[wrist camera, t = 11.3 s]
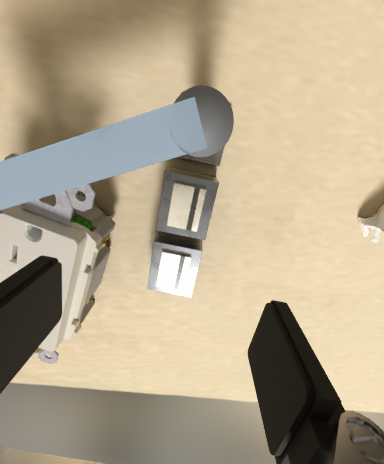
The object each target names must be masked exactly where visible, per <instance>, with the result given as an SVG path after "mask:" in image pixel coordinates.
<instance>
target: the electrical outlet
mask: <svg viewBox="0 0 384 464" xmlns="http://www.w3.org/2000/svg"><path fill="white" fill-rule="evenodd" d="M16 156H19V155H17V154H11V155H9V156H7V157H5V160H7V159H10V158H13V157H16ZM78 191H81V192H83V193H84V194H85V195H86V196H83V195H78V194H77V192H78ZM95 194H96V193H95V191H94V189H93V188H92V186H91V184H86V185H83V186H79V187H76V188H73V189H69V190H66V191H63V192H59V193H56V194H53V195H49V196H46V197H43V198H40V199H36V200H33V201H30V202H26V203H23V204H20V205H16V206H13V207H10V208H6V209H3V210H2V211H3V212H4V213H2V214H0V282H2V281H3V280H5V279H6V278H8V277H9V276H11V275H12V274H14V273H15V272H17V271H18V270H20V269H21V268H23V267H24V266H26V265H27V264H29V263H30V262H32V261H33V260H35V259H36V258H38V257H39V256H48V257H54V258H57V259H58V262H60V263H61V264H62V316H61V319H60V321H59V322H58V324H57V325H56V326H55V327H54V329H53V330H52V331H51V332H50V333H49V335H48V336H47V337H46V338H45V340H44V341H43V342H42V343H41V344H40V346H39V347H38V348H37V349H36V351H35V352H34V353H33V354H32V356H33V355H35V353H39V354H38V358H39V359H40V360H41V361H43V362H46V363H50V364H53V363H56V362H57V360H58V355H59V354H58V353H57V352H56V351H55V350H56V348H57V347H58V345H59V344H60V343H61V341H62V340H67V339H70V338H72V337H73V335H74V334H77V333H78V331H79V329H80V328H81V323H82V322H83V320H84V318H85V317H86V315H87V314H88V312H89V311H90V309H91V308H92V306H93V305H94V303H95V302H94V301H93V300H92V296H93V293H94V292H95V290H96V289H97V288H98V286H99V285H100V283H101V280H102V277H103V273H104V270H105V267H106V263H107V260H108V256H109V253H110V249H109V248H108V247H107V246H106V244H107V240H108V239H109V233H110V232H111V231H112V230H113V229H114V226H115V222H114V221H112V220H111V218H112V217H113V215H111V216H110V217H109V216H106V215H104V212H102V211H101V210H100V209H99V208H98V207H97V205H96V204H95V203H94V198H95ZM46 354H49V355H51V356H52V357H48V356H46Z"/></svg>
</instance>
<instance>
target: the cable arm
mask: <svg viewBox="0 0 384 464" xmlns="http://www.w3.org/2000/svg"><path fill="white" fill-rule="evenodd" d="M233 123H234V122H233V112H232V108H231V106H230V104H229V102H228V100H227V99H226V97H225V96H224V95H223V94H222V93H221V92H219V91H218V90H216V89H214V88H212V87H208V86H196V87H192V88H190V89H188V90H186V91H184V92H183V93H182V94H181V95H180V96H179V97H178V98H177V99H176V101H175V102H174V104H171V105H168V106H165V107H162V108H159V109H156V110H153V111H150V112H147V113H144V114H141V115H138V116H135V117H132V118H129V119H126V120H123V121H120V122H117V123H114V124H111V125H108V126H105V127H102V128H99V129H96V130H93V131H90V132H87V133H84V134H81V135H78V136H75V137H72V138H69V139H66V140H63V141H60V142H57V143H54V144H51V145H48V146H45V147H42V148H39V149H36V150H34V151H31V152H28V153H25V154H22V155H19V156H16V157H13V158H10V159H7V160H4V161H1V162H0V214H2V213H4V212H3V211H2V210H3V209H6V208H10V207H13V206H16V205H20V204H23V203H26V202H30V201H33V200H36V199H40V198H43V197H46V196H49V195H53V194H56V193H59V192H63V191H66V190H69V189H73V188H76V187H79V186H83V185H86V184H89V183H93V182H96V181H99V180H103V179H106V178H109V177H113V176H116V175H119V174H123V173H126V172H129V171H133V170H136V169H139V168H143V167H146V166H149V165H153V164H156V163H159V162H163V161H166V160H169V159H173V158H176V157H179V156H182V155H186V154H189V155H191V156H195V157H207V156H210V155H213V154H215V153H217V152H218V151H220V150H221V149H222V148H223V147H224V146H225V145H226V143H227V142H228V140H229V138H230V136H231V133H232V130H233Z"/></svg>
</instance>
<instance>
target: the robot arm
mask: <svg viewBox="0 0 384 464" xmlns="http://www.w3.org/2000/svg"><path fill="white" fill-rule="evenodd" d="M61 316H62V264H61V263H60V262H58V259H57V258H54V257H48V256H39V257H38V258H36V259H35V260H33V261H32V262H30V263H29V264H27V265H26V266H24V267H23V268H21V269H20V270H18V271H17V272H15V273H14V274H12V275H11V276H9V277H8V278H6V279H5V280H3V281H2V282H0V394H1V392H2V391H3V390H4V389H5V387H6V386H7V385H8V384H9V382H10V381H11V380H12V379H13V378H14V376H15V375H16V374H17V373H18V371H19V370H20V369H21V368H22V367H23V365H24V364H25V363H26V362H27V360H28V359H29V358H30V357H31V356H32V354H33V353H34V352H35V351H36V349H37V348H38V347H39V346H40V344H41V343H42V342H43V341H44V340H45V338H46V337H47V336H48V335H49V333H50V332H51V331H52V330H53V329H54V327H55V326H56V325H57V324H58V322H59V321H60V319H61ZM248 358H249V363H250V367H251V372H252V376H253V381H254V385H255V389H256V394H257V398H258V403H259V407H260V411H261V416H262V420H263V425H264V429H265V434H266V438H267V442H268V447H269V450H270V453H271V454H272V455H274V456H275V459H276V463H277V464H384V432H383V430H382V429H381V428H380V427H379V426H378V425H376V424H375V423H374V422H373V421H371V420H370V419H369V418H367V417H365V416H363V415H361V414H359V413H356V412H354V411H345V410H344V408H343V406H342V404H341V400H340V398H339V397H338V395H337V393H336V391H335V389H334V388H333V386H332V384H331V382H330V380H329V379H328V377H327V375H326V373H325V371H324V369H323V368H322V366H321V364H320V362H319V360H318V359H317V357H316V355H315V353H314V351H313V350H312V348H311V346H310V344H309V342H308V341H307V339H306V337H305V335H304V333H303V332H302V330H301V328H300V326H299V324H298V322H297V321H296V319H295V317H294V315H293V313H292V312H291V310H290V308H289V306H288V305H287V303H284V302H279V301H274V300H273V301H271V302H270V303H267V304H266V306H265V308H264V311H263V313H262V316H261V318H260V321H259V323H258V326H257V328H256V331H255V333H254V336H253V338H252V341H251V343H250V346H249V349H248ZM0 464H104V463H97V462H91V461H84V460H79V459H72V458H66V457H60V456H54V455H48V454H41V453H35V452H28V451H21V450H15V449H9V448H3V447H0Z"/></svg>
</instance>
